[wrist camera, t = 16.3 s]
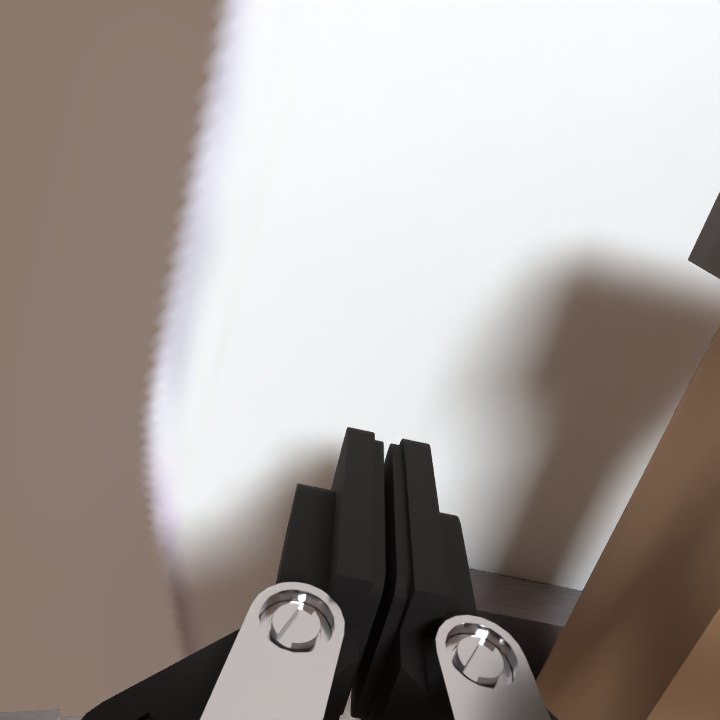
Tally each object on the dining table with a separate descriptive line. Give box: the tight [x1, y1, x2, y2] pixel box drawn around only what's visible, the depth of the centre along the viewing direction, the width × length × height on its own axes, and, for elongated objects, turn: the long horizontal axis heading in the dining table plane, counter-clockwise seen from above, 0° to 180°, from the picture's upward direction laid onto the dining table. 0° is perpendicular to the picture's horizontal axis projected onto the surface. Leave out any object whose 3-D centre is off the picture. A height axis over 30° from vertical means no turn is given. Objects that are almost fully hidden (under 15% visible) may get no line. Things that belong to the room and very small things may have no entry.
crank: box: [536, 193, 720, 720], centre depth 12 cm, size 18×5×5 cm, turn 167°
